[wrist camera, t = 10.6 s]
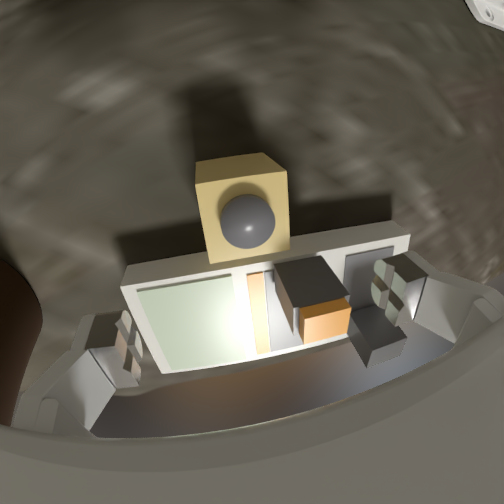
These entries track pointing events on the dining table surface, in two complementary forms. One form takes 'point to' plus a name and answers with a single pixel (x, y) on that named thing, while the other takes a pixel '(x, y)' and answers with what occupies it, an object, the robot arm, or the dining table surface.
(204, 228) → the tan block with knob
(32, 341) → the olive oil
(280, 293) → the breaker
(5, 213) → the dining table surface
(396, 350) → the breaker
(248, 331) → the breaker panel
